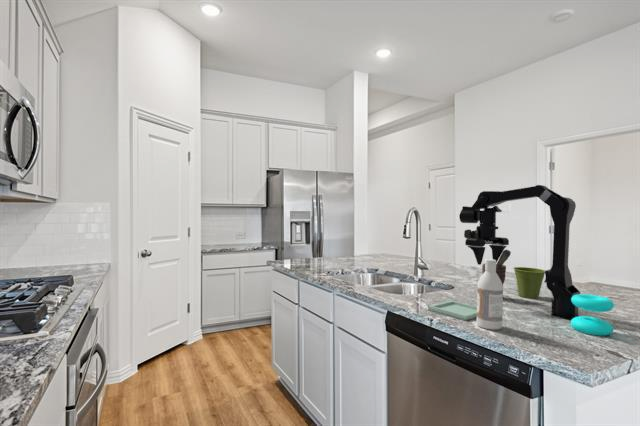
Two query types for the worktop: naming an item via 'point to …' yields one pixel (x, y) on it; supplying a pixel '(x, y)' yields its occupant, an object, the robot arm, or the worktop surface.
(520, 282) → the plant pot
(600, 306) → the donuts
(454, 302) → the tray
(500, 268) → the mortar and pestle
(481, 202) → the robot arm
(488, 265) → the bath foam
